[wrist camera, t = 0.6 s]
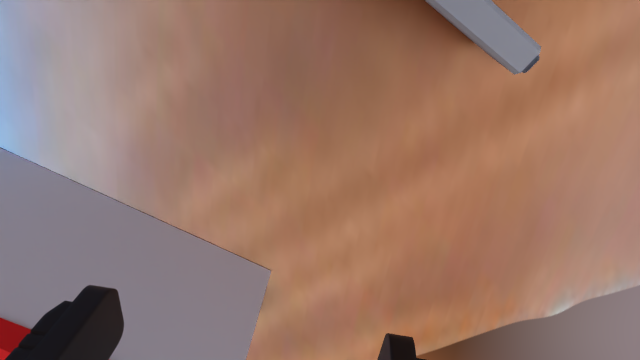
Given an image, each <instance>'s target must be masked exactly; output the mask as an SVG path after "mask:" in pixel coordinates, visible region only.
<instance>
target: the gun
mask: <svg viewBox="0 0 640 360" xmlns="http://www.w3.org/2000/svg"><path fill="white" fill-rule="evenodd" d="M425 1H426V2H427V3H428V4H429V5H431V6H432V7H433V8H434V9H435V10H437V11H438V12H439V13H440V14H441V15H443V16H444V17H445V18H446V19H447V20H448V21H449V22H450V23H451V24H453V25H454V26H455V27H456V28H457V29H459V30H460V31H461V32H462V33H463V34H465V35H466V36H467V37H468V38H469V39H471V40H472V41H473V42H474V43H475V44H477V45H478V46H479V47H480V48H481V49H483V50H484V51H485V52H486V53H487V54H489V55H490V56H491V57H492V58H493V59H495V60H496V61H497V62H499V63H500V64H501V65H503V66H504V67H505V68H506V69H508V70H509V71H510V72H512V73H513V74H518V73H521V72H523V73H526V72H527V71H528V70H529V69H530V68H531V67H532V66H533V65H534V64H535V63H536V62H537V61H538V60H539V53H540V49H541V46H540V45H539V44H537V43H536V42H535V41H534V40H533V39H532V38H531V37H530V36H529V35H528V34H527V33H526V32H525V31H523V30H522V29H521V28H520V27H519V26H518V25H517V24H516V23H515V22H514V21H513V20H512V19H511V18H509V17H508V16H507V15H506V14H505V13H504V12H503V11H502V10H501V9H500V8H499V7H498V6H497V5H495V4H494V3H493V2H492V1H491V0H425Z"/></svg>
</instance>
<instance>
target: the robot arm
mask: <svg viewBox="0 0 640 360" xmlns="http://www.w3.org/2000/svg"><path fill="white" fill-rule="evenodd" d="M123 330H124V319H123V314H122V309H121V304H120V299H119V293H118V291H117V290H116V289H114V288H108V287H101V286H95V285H88V286H86V287H85V288H84V289H83V290H82V291H81V292H80V293H79V295H78V296H77V297H76V298H75V299H74V301H73V302H71V301H63V302H62V303H60V304H59V305H57V306H56V307H54V308H53V309H51V310H50V311H48V312H47V313H45V314H44V316H43V317H42V318H41V319H40V320H39V321H38V322H37V324H36V325H35V326H34V327H33V328H32V329H31V332H30V333H29V334H27V335H26V336H25V337H24V338H23V339H22V341H21V342H20V343H19V345H18V347H17V348H15V349H14V350H13V351H12V352H11V353H10V354H9V355H8V356H7V358H6V359H5V360H109V358H110V357H111V355H112V353H113V352H114V350H115V348H116V347H117V345H118V344H119V342H120V339H121V337H122V334H123ZM378 360H425V359H419V358H416V352H415V345H414V340H413V338H412V337H408V336H401V335H395V334H389V333H387V334H386V335H385V338H384V341H383V344H382V347H381V350H380V354H379V357H378Z"/></svg>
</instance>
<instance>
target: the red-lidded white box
mask: <svg viewBox="0 0 640 360" xmlns="http://www.w3.org/2000/svg"><path fill="white" fill-rule="evenodd" d="M270 274H271V271H270V270H268V269H266V268H264V267H262V266H259V265H257V264H255V263H253V262H251V261H248V260H246V259H244V258H242V257H240V256H237V255H235V254H233V253H231V252H229V251H226V250H224V249H222V248H220V247H218V246H215V245H213V244H211V243H209V242H207V241H204V240H202V239H200V238H198V237H195V236H193V235H191V234H189V233H187V232H184V231H182V230H180V229H178V228H176V227H173V226H171V225H169V224H167V223H165V222H162V221H160V220H158V219H156V218H154V217H151V216H149V215H147V214H145V213H143V212H140V211H138V210H136V209H134V208H132V207H129V206H127V205H125V204H123V203H121V202H118V201H116V200H114V199H112V198H110V197H107V196H105V195H103V194H101V193H99V192H96V191H94V190H92V189H90V188H88V187H85V186H83V185H81V184H79V183H77V182H74V181H72V180H70V179H68V178H66V177H63V176H61V175H59V174H57V173H55V172H52V171H50V170H48V169H46V168H44V167H41V166H39V165H37V164H35V163H33V162H30V161H28V160H26V159H24V158H21V157H19V156H17V155H15V154H13V153H10V152H8V151H6V150H4V149H2V148H0V360H5V359H6V358H7V356H8V355H9V354H10V353H11V352H12V351H13V350H14V349H15V348H17V347H18V345H19V343H20V342H21V341H22V339H23V338H24V337H25V336H26V335H27V334H29V333H30V332H31V329H32V328H33V327H34V326H35V325H36V324H37V322H38V321H39V320H40V319H41V318H42V317H43V316H44V314H45V313H47V312H48V311H50V310H51V309H53V308H54V307H56V306H57V305H59V304H60V303H62V302H63V301H71V302H73V301H74V299H75V298H76V297H77V296H78V295H79V293H80V292H81V291H82V290H83V289H84V288H85V287H86V286H88V285H95V286H101V287H108V288H114V289H116V290H117V291H118V293H119V299H120V304H121V309H122V314H123V319H124V330H123V334H122V337H121V339H120V342H119V344H118V345H117V347H116V348H115V350H114V352H113V353H112V355H111V357H110V358H109V360H246V357H247V354H248V350H249V347H250V343H251V340H252V336H253V333H254V329H255V326H256V322H257V319H258V315H259V312H260V308H261V305H262V301H263V298H264V294H265V291H266V287H267V284H268V280H269V277H270Z"/></svg>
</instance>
